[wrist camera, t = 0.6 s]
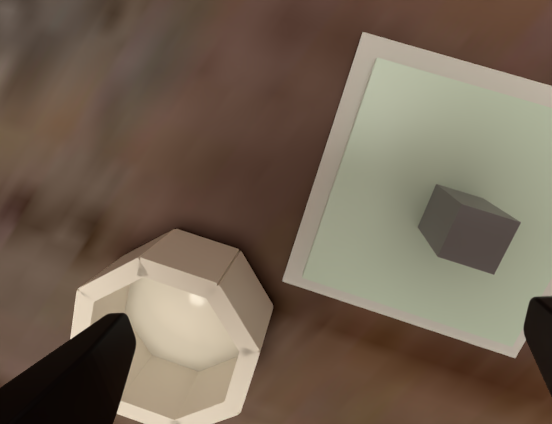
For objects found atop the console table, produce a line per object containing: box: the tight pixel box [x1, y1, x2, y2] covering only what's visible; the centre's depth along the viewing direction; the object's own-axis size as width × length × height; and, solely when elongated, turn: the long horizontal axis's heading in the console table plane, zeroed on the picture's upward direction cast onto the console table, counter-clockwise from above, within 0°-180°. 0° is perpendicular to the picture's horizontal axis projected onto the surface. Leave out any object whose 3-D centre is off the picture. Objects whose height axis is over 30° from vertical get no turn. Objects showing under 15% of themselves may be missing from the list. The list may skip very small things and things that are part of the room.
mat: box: [282, 32, 552, 358], centre depth 20 cm, size 14×14×1 cm
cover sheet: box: [302, 57, 552, 347], centre depth 18 cm, size 12×12×5 cm
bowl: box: [70, 229, 273, 424], centre depth 22 cm, size 10×10×5 cm
